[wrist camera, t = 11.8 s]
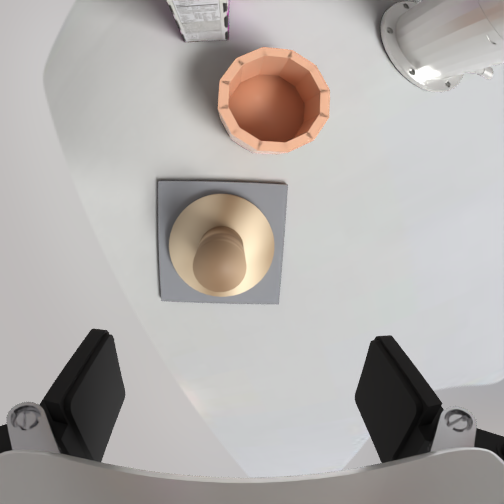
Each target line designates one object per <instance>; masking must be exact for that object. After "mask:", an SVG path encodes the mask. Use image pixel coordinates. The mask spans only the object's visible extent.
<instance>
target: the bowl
mask: <svg viewBox="0 0 504 504" xmlns="http://www.w3.org/2000/svg"><path fill="white" fill-rule="evenodd" d="M329 104H330V90H329V88H328V86H327V84H326V82H325V80H324V79H323V77H322V75H321V73H320V71H319V70H318V68H317V66H316V65H314V64H313V63H311V62H310V61H308V60H307V59H305V58H304V57H302V56H301V55H299V54H298V53H296V52H294V51H293V50H288V49H278V48H268V47H262V48H259V49H257V50H254V51H252V52H249V53H247V54H245V55H242V56H240V57H238V58H236V59H235V60H234V62H233V63H232V64H231V66H230V67H229V68H228V70H227V71H226V72H225V74H224V75H223V77H222V78H221V79H220V81H219V96H218V112H219V116H220V119H221V121H222V123H223V125H224V127H225V129H226V131H227V133H228V134H229V136H230V138H231V140H232V141H234V142H236V143H237V144H238V145H240V146H241V147H243V148H245V149H247V150H249V151H250V152H252V153H261V154H282V153H288V152H290V151H292V150H294V149H296V148H298V147H300V146H303V145H305V144H307V143H309V142H311V141H313V140H314V139H315V138H316V136H317V135H318V133H319V132H320V130H321V129H322V127H323V126H324V124H325V123H326V121H327V120H328V118H329Z"/></svg>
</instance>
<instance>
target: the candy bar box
mask: <svg viewBox="0 0 504 504" xmlns="http://www.w3.org/2000/svg"><path fill="white" fill-rule="evenodd" d="M166 1H167V3H168V5H169V7H170V9H171V11H172V14H173V16H174V18H175V21H176V23H177V25H178V28H179V30H180V33H181V35H182V37H183V39H184V42H198V41H209V40H229V0H166Z"/></svg>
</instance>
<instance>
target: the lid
mask: <svg viewBox="0 0 504 504" xmlns="http://www.w3.org/2000/svg"><path fill="white" fill-rule="evenodd" d="M169 252H170V257H171V261H172V263H173V266H174V268H175V270H176V272H177V273H178V275H179V276H180V277H181V278H182V279H183V281H184V282H185V283H187V284H188V285H189V286H190V287H192V288H193V289H195V290H197V291H199V292H201V293H204V294H207V295H211V296H218V297H227V296H234V295H237V294H241V293H243V292H245V291H247V290H249V289H251V288H252V287H254V286H255V285H256V284H257V283H258V282H259V281H260V280H261V279H262V278H263V277H264V276H265V274H266V273H267V271H268V270H269V268H270V265H271V263H272V260H273V256H274V236H273V232H272V229H271V227H270V224H269V222H268V221H267V219H266V217H265V216H264V214H263V213H262V212H261V211H260V210H259V209H258V208H257V207H256V206H255V205H254V204H252V203H251V202H250V201H248V200H246V199H244V198H242V197H239V196H236V195H231V194H212V195H208V196H205V197H202V198H200V199H198V200H196V201H194V202H193V203H191V204H190V205H189V206H187V207H186V208H185V209H184V210H183V211H182V213H181V214H180V215H179V216H178V218H177V219H176V221H175V223H174V225H173V227H172V230H171V233H170V239H169Z"/></svg>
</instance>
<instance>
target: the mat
mask: <svg viewBox="0 0 504 504" xmlns="http://www.w3.org/2000/svg"><path fill="white" fill-rule="evenodd" d="M287 190H288V185H287V184H269V183H248V182H219V181H158V241H159V268H160V287H161V301H172V302H195V303H227V304H279V295H280V284H281V272H282V260H283V247H284V234H285V220H286V205H287ZM212 194H231V195H236V196H239V197H242V198H244V199H246V200H248V201H250V202H251V203H252V204H254V205H255V206H256V207H257V208H258V209H259V210H260V211H261V212H262V213H263V214H264V216H265V217H266V219H267V221H268V222H269V224H270V227H271V229H272V232H273V236H274V256H273V260H272V263H271V265H270V268H269V270H268V271H267V273H266V274H265V276H264V277H263V278H262V279H261V280H260V281H259V282H258V283H257V284H256V285H255V286H254V287H252V288H251V289H249V290H247V291H245V292H243V293H241V294H237V295H234V296H227V297H218V296H211V295H207V294H204V293H201V292H199V291H197V290H195V289H193V288H192V287H190V286H189V285H188V284H187V283H185V282H184V281H183V279H182V278H181V277H180V276H179V275H178V273H177V272H176V270H175V268H174V266H173V263H172V261H171V257H170V252H169V239H170V233H171V230H172V227H173V225H174V223H175V221H176V219H177V218H178V216H179V215H180V214H181V213H182V211H183V210H184V209H185V208H186V207H187V206H189V205H190V204H191V203H193V202H194V201H196V200H198V199H200V198H202V197H205V196H208V195H212Z"/></svg>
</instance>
